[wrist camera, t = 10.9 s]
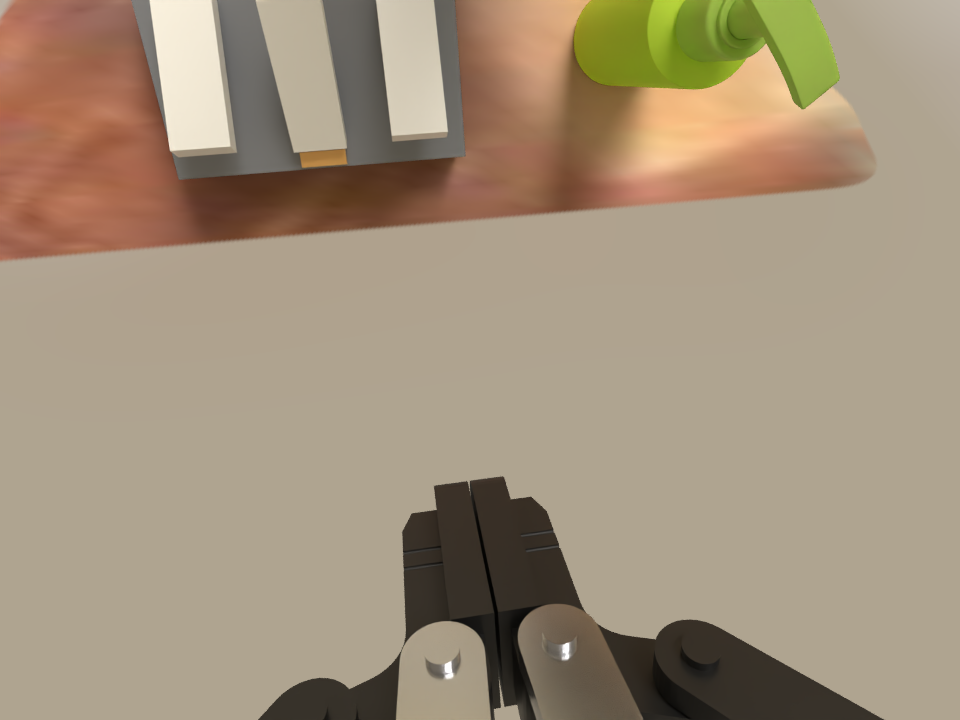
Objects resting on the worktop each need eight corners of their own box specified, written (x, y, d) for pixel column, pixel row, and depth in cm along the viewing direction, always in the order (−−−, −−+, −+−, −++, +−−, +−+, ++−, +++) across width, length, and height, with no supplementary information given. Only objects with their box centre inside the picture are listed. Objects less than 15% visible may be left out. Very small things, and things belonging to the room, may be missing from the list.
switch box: (445, -37, 39) (454, -53, 34) (459, 149, 43) (468, 158, 39) (148, -22, 37) (112, -37, 32) (196, 170, 42) (171, 183, 37)
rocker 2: (320, -11, 32) (319, -3, 31) (346, 138, 38) (347, 148, 37) (257, -8, 32) (255, 0, 31) (294, 142, 38) (293, 152, 37)
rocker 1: (217, 1, 34) (209, -11, 33) (236, 152, 35) (230, 146, 34) (157, 4, 34) (148, -8, 33) (178, 157, 34) (169, 151, 33)
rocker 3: (430, -12, 35) (431, -23, 34) (446, 137, 36) (447, 131, 35) (375, -9, 35) (373, -20, 34) (392, 141, 36) (391, 135, 35)
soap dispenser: (612, 116, 44) (769, 143, 26) (556, 31, 41) (689, -3, 23) (679, 57, 43) (891, 45, 25) (626, -33, 40) (821, -121, 22)
